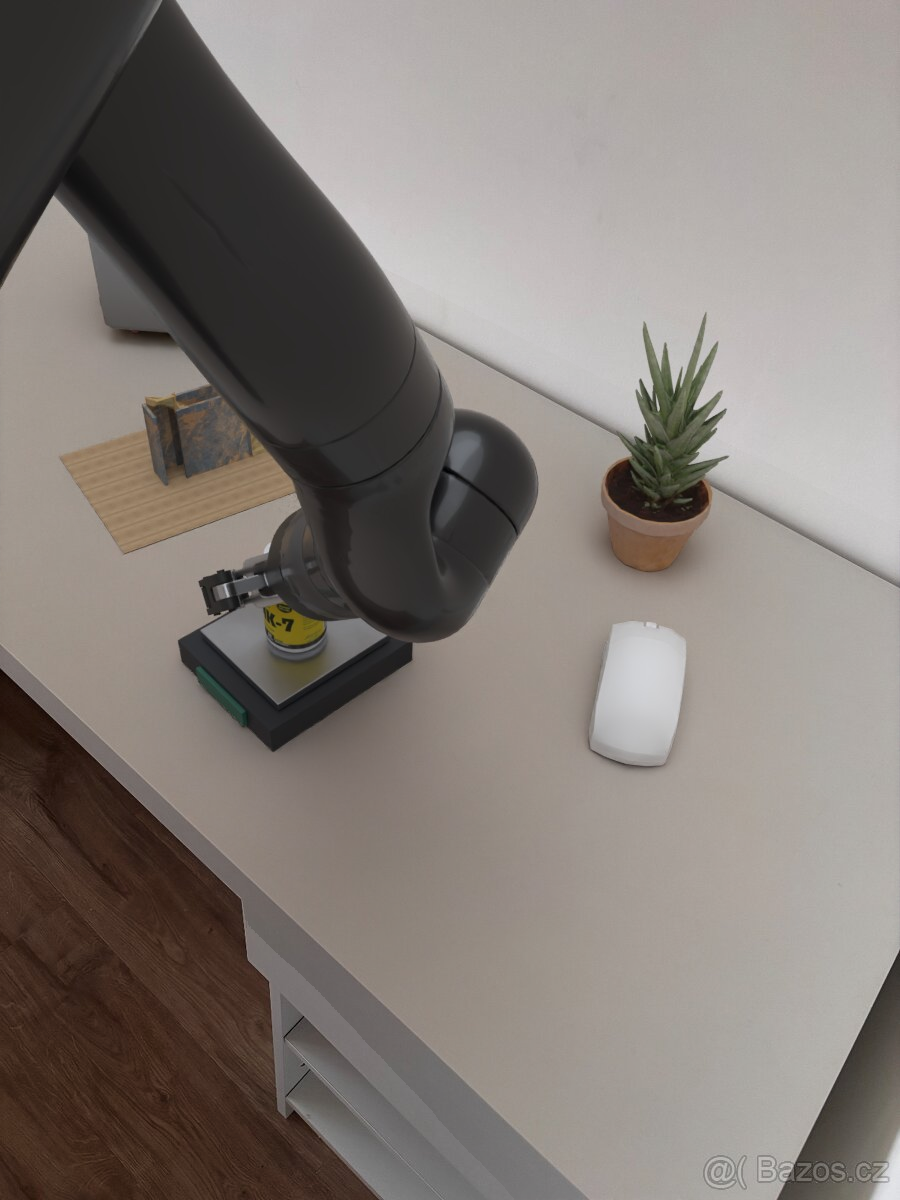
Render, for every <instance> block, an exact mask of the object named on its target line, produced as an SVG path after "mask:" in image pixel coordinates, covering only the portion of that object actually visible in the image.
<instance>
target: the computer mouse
mask: <svg viewBox="0 0 900 1200" xmlns="http://www.w3.org/2000/svg"><path fill="white" fill-rule="evenodd" d="M686 672H687V642H686V638H684V637H683V636H681V635H680V634H678V633H677V632H676V631H675V630H673V629H672V628H670V627H666V626H663V625H659V624H657V623H656V622H653V621H647V620H646V622H644V621H637V620H627V621H624V622H618V623H617V622H615V623H613V624H612V626H611V629H610V631H609V634H608V637H607V642H604V647H603V651H602V657H601V661H600V671H599V678H598V681H597V687H596V692H595V698H594V703H593V707H592V713H591V718H590V723H589V728H588V731H587V733H588V740H589V741H588V742H589V748H590V750H592V751H593V752H596V753H597V754H599V755H601V756H602V757H605V758H608V759H610V760H613V761H616V762H619V763H621V764H626V765H633V766H643V767H658V766H663V765H664V764H665V763H666V762H667V759H668V758H669V755H670V753H671V751H672V747H673V744H674V741H675V739H676V735H677V729H678V724H679V720H680V719H679V717H680V712H681V707H682V702H683V695H684V686H685V681H686V674H687V673H686Z"/></svg>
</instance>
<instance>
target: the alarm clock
mask: <svg viewBox="0 0 900 1200" xmlns="http://www.w3.org/2000/svg"><path fill="white" fill-rule="evenodd" d="M86 235H87V241H88V244H89V245H88V246H89V249H90V255H91V259H92V260H91V261H92V265H93V270H94V275H95V279H96V280H95V281H96V284H97V285H96V286H97V291H98V302H99V305H100V307H101V311H102V315H103V321H104V324H105V326H108V327H109V328H111V329H115V330H128V331H131V332H132V333H133V334H137V333H139V332H141V331H142V332H154V333H155V332H157V333H168V331H167V330H166V329H165V328H164V326H163V325H162V324H161V323H160V321H159V320H158V319H157V318H156V316H155V315H154V314H153V313H152V312H151V310H150V309H149V308H148V307H147V305H146V304H145V303H144V302H143V300H142V299H141V298H140V297H139V295H138V294H137V293H136V292H135V290H134V289H133V288H132V287H131V286H130V284H129V283H128V282H127V281H126V279H125V278H124V277H123V276H122V275H121V273H120V272H119V271H118V270H117V268H116V267H115V266H114V265H113V264H112V262H111V261H110V260H109V259H108V258H107V256H106V255H105V254H104V253H103V251H102V250H101V249H100V248H99V247H98V246H97V244H96V243H95V242H94V241H93V240H92V239H91V237H90V236H89V235H88V234H87V233H86Z"/></svg>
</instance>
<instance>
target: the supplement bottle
mask: <svg viewBox="0 0 900 1200" xmlns="http://www.w3.org/2000/svg"><path fill="white" fill-rule="evenodd" d="M271 542H272V540H271V541H269V543H267V545H266V546H265V547H264V549H263V553H262V554H265V553H268V552H269V549H270V545H271ZM263 613H264V622H265V631H266V636H267V638H268V640H269V641H270V643H271V644H272V645H274V646H275V647H277V648H278V649H281V650H283V651H287V652H293V653H297V652H304V651H307V650H310V649H312V648H314V647H316V646H317V645H318V644H319V643H320V642H321V641H322V640H323V639H324V637H325V635H326V630H327V621H318V620H313V619H310V618H307V617H305V616H302V615H301V614H299V613H297V612H296V611H294V610H293V609H291V608H290V607H289V606H288V605H287V604H286V603H285V602H282V603H279V604H275V605H271V606H268V607H264V608H263Z"/></svg>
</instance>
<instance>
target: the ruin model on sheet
mask: <svg viewBox="0 0 900 1200" xmlns="http://www.w3.org/2000/svg"><path fill="white" fill-rule="evenodd" d="M144 400H145V402H144V403H142V404H141V408H142V413H143V419H144V424H145V429H143V430H142V429H141V430H139V431H135V432H133V433H129V434H126V435H123V436H119V437H116V438H113V439H109V440H107V441H103V442H100V443H97V444H94V445H91V446H88V447H84V448H81V449H78V450H77V449H76V450H75V451H71V452H67V453H65V454H62V455H59V456H58V457H59V459H60V460H61V461H62V463H63V465H64V466H65V468H66V469H67V470H68V472H69V474H70V475H71V476H72V478H73V480H74V481H75V483H76V484H77V485H78V488H79V489H80V490H81V492H82V493H83V494H84V496H85V498H86V499H87V500H88V502H89V504H90V505H91V506H92V508H93V510H94V511H95V513H96V514H97V515H98V517H99V518H100V520H101V522H102V523H103V524H104V526H105V527H106V529H107V530H108V532H109V533H110V535H111V536H112V538H113V539H114V542H115V543H116V544H117V545H118V547H119V548H120V550H121V552H122V553H123V555H125V554H127V553H131V552H132V551H135V550H138V549H141V548H144V547H146V546H149V545H152V544H155V543H157V542H160V541H163V540H166V539H169V538H172V537H174V536H178V535H180V534H182V533H185V532H188V531H191V530H193V529H196V528H199V527H202V526H205V525H208V524H210V523H213V522H216V521H219V520H221V519H224V518H227V517H230V516H232V515H235V514H238V513H241V512H243V511H247V510H249V509H252V508H254V507H257V506H260V505H264V504H266V503H268V502H271V501H274V500H277V499H280V498H282V497H285V496H288V495H291V494H294V493H296V492H295V488H294V485H293V482H292V480H291V478H290V477H289V476H288V475H287V474H286V473H285V472H284V471H283V469H282V468H281V467H280V466H279V465H278V463H277V462H276V461H275V460H274V459H273V458H272V457H271V455H270V454H269V453H268V452H267V451H266V450H265V449H264V447H263V446H262V445H261V444H260V443H259V442H258V441H257V439H256V438H255V437H254V436H253V435H252V434H251V433H250V431H249V430H248V429H247V428H246V427H245V426H244V425H243V424H242V422H241V421H240V420H239V419H238V417H237V416H236V415H235V414H234V413H233V411H232V410H231V409H230V408H229V407H228V405H227V404H226V403H225V402H224V400H223V399H222V398H221V397H220V396H219V394H218V393H217V392H216V391H215V390H214V388H213V387H212V386H211V385H210V384H209V383H208V384H205V385H201V386H197V387H195V388H191V389H188V390H185V391H180V392H178V393H176V392H171V395H168V396H164V397H159V396H158V397H157V396H144Z"/></svg>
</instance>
